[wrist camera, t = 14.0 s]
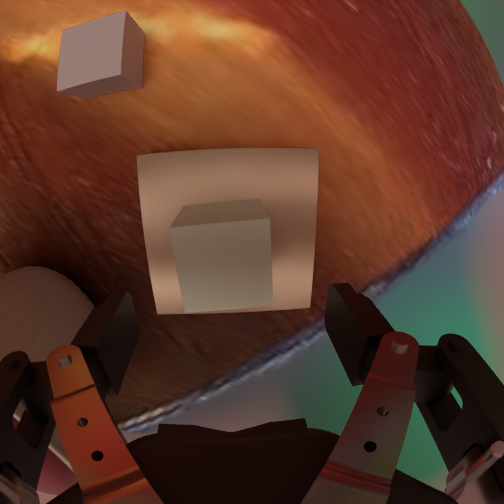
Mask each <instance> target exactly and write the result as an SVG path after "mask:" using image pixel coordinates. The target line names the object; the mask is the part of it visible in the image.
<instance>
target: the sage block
mask: <svg viewBox="0 0 504 504" xmlns="http://www.w3.org/2000/svg"><path fill="white" fill-rule="evenodd" d="M169 229H170V235H171V241H172V247H173V253H174V259H175V265H176V270H177V275H178V281H179V286H180V291H181V296H182V301H183V306H184V310H185V313H192V312H206V311H219V310H231V309H242V308H252V307H262V306H272V305H273V279H272V254H271V232H270V218H269V216H268V214H267V212H266V210H265V209H264V207H263V205H262V203H261V201H260V200H259V199H252V200H240V201H229V202H218V203H208V204H198V205H188V206H183V208H182V209H181V211H180V212H179V214H178V215H177V217H176V218H175V220H174V221H173V223H172V225H171V226H170V228H169Z"/></svg>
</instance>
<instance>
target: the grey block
mask: <svg viewBox="0 0 504 504" xmlns="http://www.w3.org/2000/svg"><path fill="white" fill-rule="evenodd" d="M144 40H145V33H144V32H143V30H142V29H141V28H140V27H139V26H138V24H137V23H136V22H135V21H134V20H133V18H132V17H131V16H130V15H129V14H128V13H127V11H123V12H119V13H115V14H112V15H108V16H104V17H101V18H97V19H94V20H91V21H88V22H85V23H82V24H79V25H76V26H73V27H70V28H68V29H65V30H63V33H62V40H61V47H60V56H59V66H58V78H57V92H61V93H66V94H70V95H75V96H79V97H83V98H91V97H96V96H100V95H104V94H109V93H114V92H119V91H124V90H130V89H136V88H142V87H143V58H144Z"/></svg>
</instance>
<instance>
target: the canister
mask: <svg viewBox="0 0 504 504" xmlns="http://www.w3.org/2000/svg"><path fill="white" fill-rule="evenodd" d="M93 309H94V306H93V303H92V302H91V301H90V300H89V299H88V297H87V295H86V294H84V293H83V292H82V291H81V289H80V287H78V286H76V285H75V284H74V283H73V281H72V280H69V279H67V278H66V277H65V275H61V274H59V273H58V272H57V271H55V270H50V269H49V268H46V267H43V268H42V267H40V266H26V267H23V268H18V269H15V270H13V271H11V272H9V273H7V274H5V275H3V276H1V277H0V362H1V360H2V359H3V358H4V357H5V356H6V355H8V354H9V353H11V352H14V351H23V352H25V353H26V354H27V355H28V357H29V359H30V361H31V362H39V361H46V360H47V357H48V355H49V354H50V353H51V352H52V351H53V350H54V349H56V348H58V347H60V346H63V345H70V343H71V342H72V340H73V339H74V337H75V335H76V334H77V332H78V331H79V329H80V328H81V326H83V323H84V322H85V320H86V319H87V317H88V315H89V314H90V312H91V311H92V310H93ZM24 410H25V408H24V407H23V405H22V404H21V403H20V402H19V404H18V406H17V408H16V411H15V413H14V415H13V424H14V427H15V429H16V428H17V426H18V423H19V421H20V419H21V417H22V414H23V412H24ZM76 482H78V481H77V479H76V477H75V474H74V472H73V469H72V467H71V465H70V462H69V459H68V457H67V454H66V452H65V449H64V446H63V443H62V440H61V437H60V434H59V431H58V428H57V425H56V426H55V429H54V432H53V435H52V438H51V441H50V444H49V447H48V450H47V453H46V457H45V460H44V463H43V467H42V470H41V474H40V478H39V482H38V486H37V490H38V491H41V492H44V493H48V494H53V495H60V494H61V493H62V492H64V491H65V490H67V489H68V488H70V487H71V486H72V485H74V484H75V483H76Z"/></svg>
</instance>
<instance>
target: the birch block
mask: <svg viewBox="0 0 504 504" xmlns="http://www.w3.org/2000/svg"><path fill="white" fill-rule="evenodd" d="M318 162H319V149H313V148H290V147H244V148H215V149H197V150H183V151H171V152H160V153H151V154H144V155H138V156H137V169H138V182H139V194H140V204H141V213H142V222H143V230H144V238H145V245H146V252H147V258H148V265H149V271H150V277H151V283H152V288H153V294H154V299H155V304H156V309H157V314H200V313H231V312H252V311H270V310H285V309H299V308H310V302H311V291H312V280H313V267H314V253H315V238H316V220H317V197H318ZM252 199H259V200H260V201H261V203H262V205H263V207H264V209H265V210H266V212H267V214H268V216H269V218H270V232H271V254H272V279H273V305H272V306H262V307H252V308H242V309H231V310H219V311H206V312H192V313H185V310H184V306H183V301H182V296H181V291H180V286H179V281H178V275H177V270H176V265H175V259H174V253H173V247H172V241H171V235H170V229H169V228H170V226H171V225H172V223H173V221H174V220H175V218H176V217H177V215H178V214H179V212H180V211H181V209H182V208H183V206H188V205H198V204H208V203H218V202H229V201H240V200H252Z"/></svg>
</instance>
